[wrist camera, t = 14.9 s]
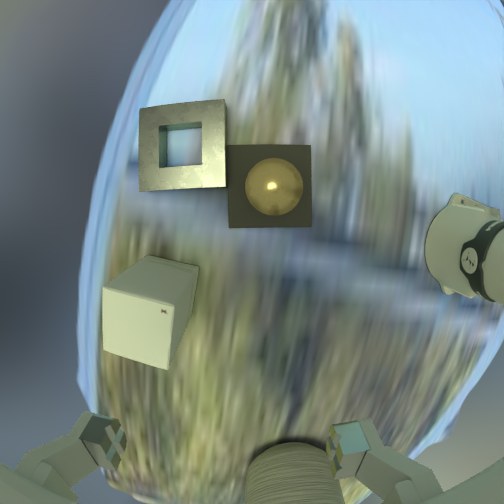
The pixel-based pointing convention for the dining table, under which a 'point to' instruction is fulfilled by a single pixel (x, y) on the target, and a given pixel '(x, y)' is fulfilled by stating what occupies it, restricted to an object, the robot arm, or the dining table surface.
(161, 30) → the dining table surface
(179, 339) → the supplement box
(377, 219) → the dining table surface
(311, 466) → the vase
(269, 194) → the knob
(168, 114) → the housing
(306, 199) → the mat
